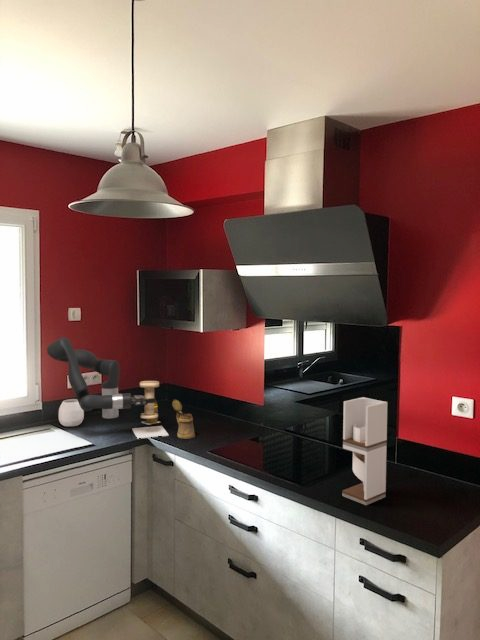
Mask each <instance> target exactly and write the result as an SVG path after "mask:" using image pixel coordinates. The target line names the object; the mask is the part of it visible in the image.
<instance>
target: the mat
mask: <svg viewBox="0 0 480 640" xmlns="http://www.w3.org/2000/svg"><path fill="white" fill-rule="evenodd" d="M131 429H132V432H133V434H134V435H135V437H137V438H136V439H137V440H140V439H139V438H141V439H149V438H151V437H152V438H159V437H158V436H162V437H168V436H170V434H169V433H168V432H167V430H166V429H165V428H164V427H163V425H156V426H144V427H143V426H142V427H134V428H131Z"/></svg>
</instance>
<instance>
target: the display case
mask: <svg viewBox="0 0 480 640" xmlns="http://www.w3.org/2000/svg"><path fill="white" fill-rule="evenodd" d="M342 414H343V420H342V422H343V423H342V425H343V426H342V429H343V430H342V449H344V450H347V451H351V452H352V472H353V474H354V475H355V476H356V477H357V479H359V480H360V481H361V482H360V483H359V484H356V485H352V486H350V487H348V488H345V489H343V490H342V491H341V492H342V493H341V495H342V497H344V498H346V499H349V500H352V501H354V502H357V503H359V504H361V505H364V506H368V505H370V504H373V503H376V502H377V501H379V500H382V499H384V498H386V495H387V494H386V492H387V491H386V490H387V488H386V487H387V485H386V484H387V450H388V449H387V445H388V442H387V441H388V401H383V400H380V399H379V400H377V399H373V398H369V397H365V396H362V397H357V398H353V399H349V400H344V401H343V413H342Z"/></svg>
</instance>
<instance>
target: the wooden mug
mask: <svg viewBox="0 0 480 640" xmlns="http://www.w3.org/2000/svg"><path fill="white" fill-rule="evenodd" d="M171 406H172V408H173V410H174V411H176V415H175V416H176V421H177V424H178V427H177V428H178V429H177V433H176V434H177V435H176V437H177V438H178V439H183V440H188V439H194V438H195V437H196V433H195V428H194V422H193V421H194V417H193V415H192V414H191V413H183V411H182V410H183V405H182V403H181V402H180V401H179V400H178V399H176V398H174V399H173V400H172V402H171Z"/></svg>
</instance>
